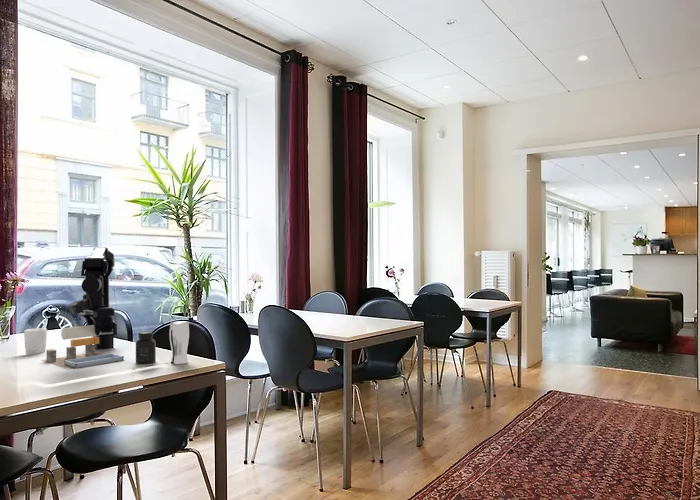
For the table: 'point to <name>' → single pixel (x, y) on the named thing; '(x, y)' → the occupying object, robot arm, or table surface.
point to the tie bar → (84, 341)
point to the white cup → (35, 340)
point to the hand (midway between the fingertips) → (94, 334)
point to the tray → (93, 360)
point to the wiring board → (61, 361)
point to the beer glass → (179, 341)
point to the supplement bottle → (145, 348)
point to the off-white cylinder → (78, 332)
